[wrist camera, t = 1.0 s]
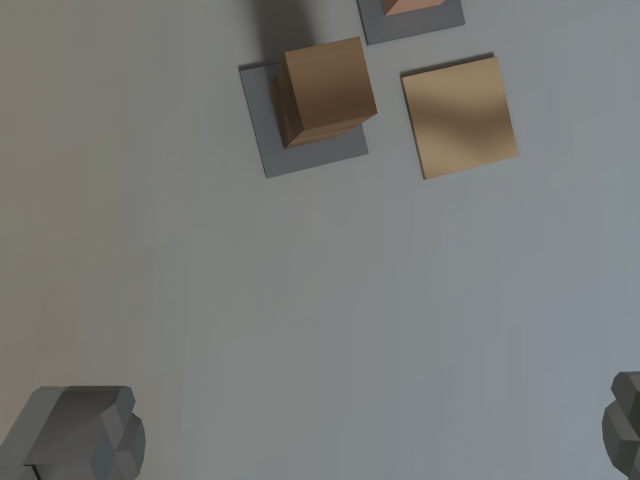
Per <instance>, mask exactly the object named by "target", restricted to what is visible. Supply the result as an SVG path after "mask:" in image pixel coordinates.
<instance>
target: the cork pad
mask: <svg viewBox="0 0 640 480" xmlns="http://www.w3.org/2000/svg"><path fill="white" fill-rule="evenodd" d="M401 83H402V87H403V91H404V95H405V100H406V104H407V108H408V113H409V117H410V121H411V126H412V130H413V134H414V139H415V143H416V147H417V151H418V156H419V160H420V164H421V169H422V173H423V177H424V179H429V178H433V177H437V176H441V175H444V174H448V173H452V172H456V171H460V170H464V169H468V168H472V167H476V166H480V165H484V164H488V163H491V162H495V161H499V160H503V159H507V158H511V157H515V156H518V152H517V148H516V143H515V138H514V134H513V129H512V125H511V120H510V115H509V111H508V106H507V102H506V97H505V92H504V88H503V83H502V79H501V74H500V69H499V65H498V60H497V57H492V58H488V59H483V60H479V61H474V62H470V63H465V64H461V65H456V66H452V67H448V68H443V69H439V70H434V71H430V72H425V73H421V74H416V75H412V76H407V77H403V78H401Z"/></svg>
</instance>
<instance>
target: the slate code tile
mask: <svg viewBox="0 0 640 480" xmlns="http://www.w3.org/2000/svg"><path fill="white" fill-rule="evenodd" d="M279 64H280V63H276V64H271V65H267V66H262V67H257V68H253V69H248V70H243V71H240V76H241V80H242V84H243V88H244V92H245V96H246V100H247V104H248V107H249V111H250V115H251V119H252V123H253V127H254V131H255V135H256V139H257V143H258V147H259V150H260V154H261V158H262V162H263V166H264V170H265V174H266V178H270V177H274V176H278V175H282V174H286V173H291V172H295V171H299V170H303V169H307V168H311V167H315V166H319V165H323V164H328V163H332V162H336V161H340V160H344V159H348V158H352V157H356V156H360V155H365V154H368V149H367V145H366V141H365V137H364V132H363V128H362V124H359V125H358V126H356V127H355V128H353V129H352V130H350V131H348V132H347V133H345V134H344V135H342V136H339V137H334V138H330V139H326V140H322V141H317V142H313V143H309V144H305V145H301V146H296V147H292V148H288V149H284V147H283V143H282V139H281V135H280V131H279V127H278V123H277V119H276V115H275V111H274V107H273V103H272V99H271V95H270V91H269V88H270V86H271V84H272V81H273V79H274V76H275V74H276V72H277V69H278V67H279Z"/></svg>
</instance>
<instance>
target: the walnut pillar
mask: <svg viewBox="0 0 640 480" xmlns="http://www.w3.org/2000/svg"><path fill="white" fill-rule="evenodd" d="M269 91H270V95H271V99H272V103H273V107H274V111H275V115H276V119H277V123H278V127H279V131H280V135H281V139H282V143H283V147H284V149H288V148H292V147H296V146H301V145H305V144H309V143H313V142H317V141H322V140H326V139H330V138H334V137H339V136H342V135H344V134H345V133H347V132H348V131H350V130H352V129H353V128H355V127H356V126H358V125H359V124H361V123H363V122H364V121H366V120H367V119H369V118H370V117H372V116H374V115H375V114H377V109H376V105H375V101H374V96H373V92H372V88H371V84H370V79H369V75H368V71H367V67H366V62H365V58H364V54H363V50H362V46H361V41H360V37H355V38H350V39H345V40H341V41H336V42H331V43H326V44H322V45H317V46H312V47H307V48H302V49H298V50H293V51H288V52H284V55H283V57H282V59H281V62H280V64H279V67H278V69H277V72H276V74H275V76H274V79H273V81H272V84H271V86H270V88H269Z"/></svg>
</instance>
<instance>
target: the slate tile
mask: <svg viewBox="0 0 640 480" xmlns="http://www.w3.org/2000/svg"><path fill="white" fill-rule="evenodd" d="M357 4H358V8H359V13H360V17H361V21H362V25H363V30H364V34H365V38H366V42H367V45H372V44H376V43H381V42H386V41H391V40H395V39H400V38H405V37H409V36H414V35H419V34H424V33H428V32H433V31H438V30H442V29H447V28H452V27H457V26H461V25H464V24H465V20H464V16H463V11H462V7H461V2H460V0H444V1H443V2H442V3H441V4H440V5H436V6H432V7H427V8H422V9H417V10H412V11H407V12H402V13H397V14H393V15H388V16H385V13H384V9H383V4H382V0H357Z"/></svg>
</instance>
